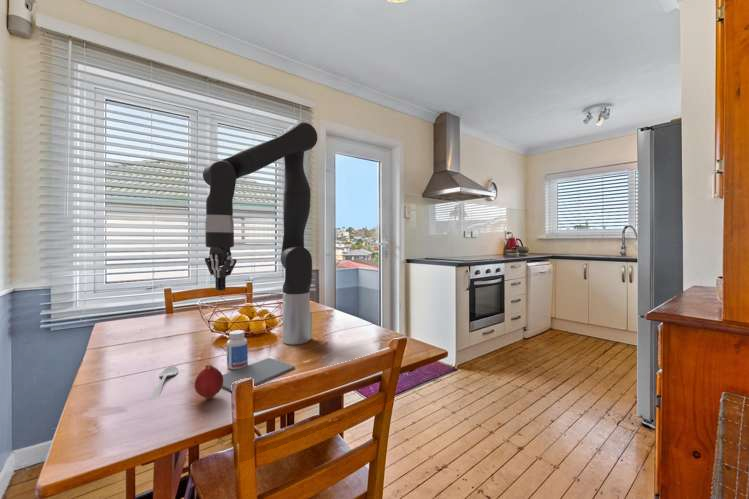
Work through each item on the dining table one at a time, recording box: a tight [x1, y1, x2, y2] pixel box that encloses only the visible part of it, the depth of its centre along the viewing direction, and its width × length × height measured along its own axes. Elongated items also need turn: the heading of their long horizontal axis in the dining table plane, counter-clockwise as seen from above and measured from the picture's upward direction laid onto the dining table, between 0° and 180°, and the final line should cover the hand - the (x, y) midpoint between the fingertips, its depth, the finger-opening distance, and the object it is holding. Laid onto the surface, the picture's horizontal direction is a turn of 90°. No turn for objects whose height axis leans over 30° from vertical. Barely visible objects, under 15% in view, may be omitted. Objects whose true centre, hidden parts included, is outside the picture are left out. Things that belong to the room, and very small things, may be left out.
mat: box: [221, 357, 296, 393], centre depth 86 cm, size 18×11×1 cm, turn 146°
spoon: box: [149, 365, 179, 401], centre depth 80 cm, size 4×21×2 cm, turn 19°
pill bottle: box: [226, 329, 249, 370], centre depth 92 cm, size 6×5×10 cm
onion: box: [194, 363, 224, 400], centre depth 73 cm, size 6×6×8 cm
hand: (220, 290), depth 96 cm, fingers closed
